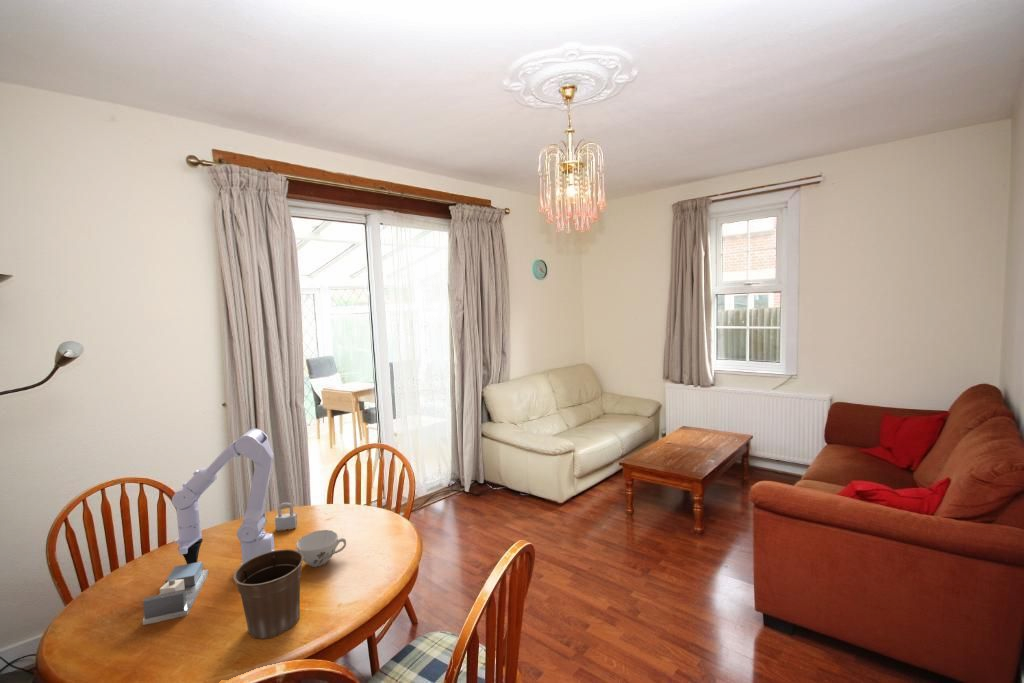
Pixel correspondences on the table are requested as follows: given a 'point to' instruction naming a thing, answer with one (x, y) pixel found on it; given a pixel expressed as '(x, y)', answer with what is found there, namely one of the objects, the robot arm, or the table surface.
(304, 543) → the teacup
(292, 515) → the padlock
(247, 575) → the plant pot
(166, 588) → the block
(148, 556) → the table surface
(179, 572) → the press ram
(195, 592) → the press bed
